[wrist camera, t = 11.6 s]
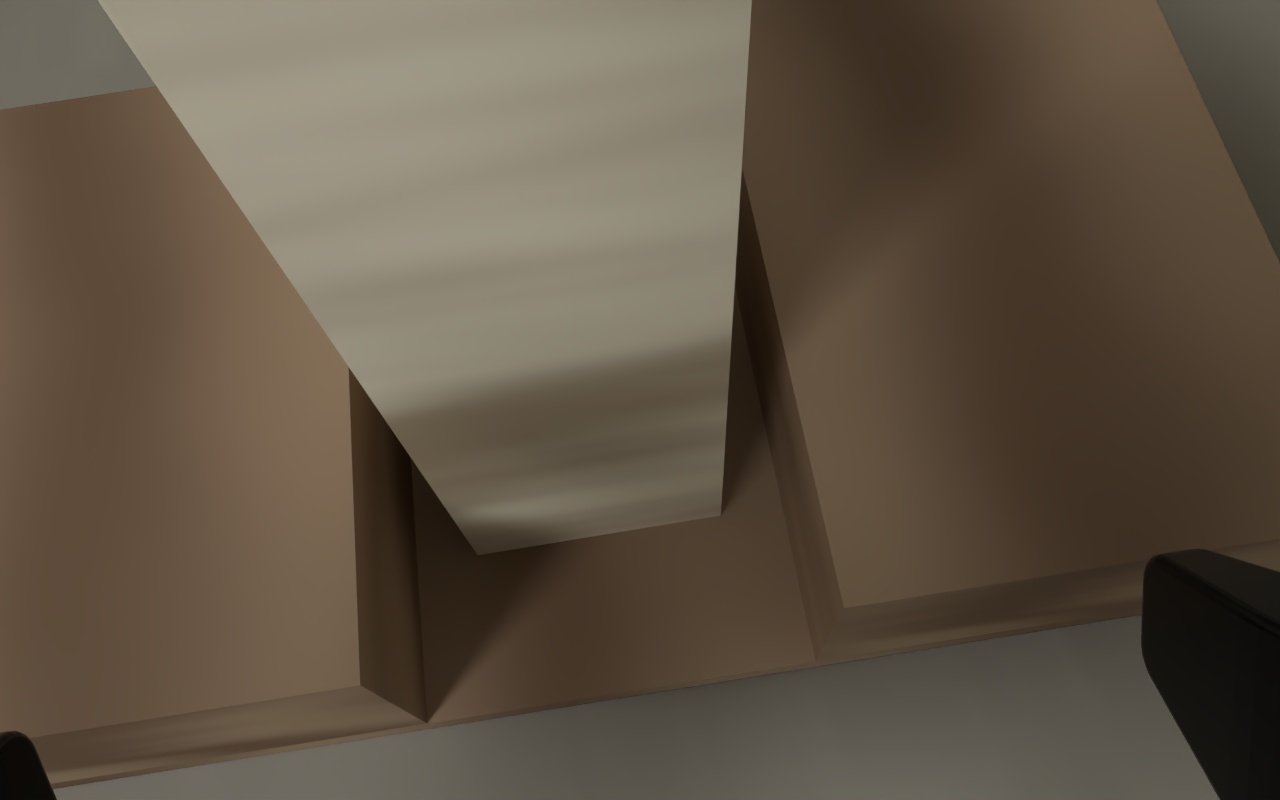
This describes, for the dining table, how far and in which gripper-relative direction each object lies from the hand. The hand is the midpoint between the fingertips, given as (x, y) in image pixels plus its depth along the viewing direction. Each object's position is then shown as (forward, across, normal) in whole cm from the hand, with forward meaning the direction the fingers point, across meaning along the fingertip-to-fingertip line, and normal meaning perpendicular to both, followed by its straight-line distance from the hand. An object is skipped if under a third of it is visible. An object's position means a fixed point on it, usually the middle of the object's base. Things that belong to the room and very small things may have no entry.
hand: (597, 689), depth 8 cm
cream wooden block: (+10, 0, +1) cm, 10 cm away
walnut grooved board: (+10, 0, +2) cm, 11 cm away
